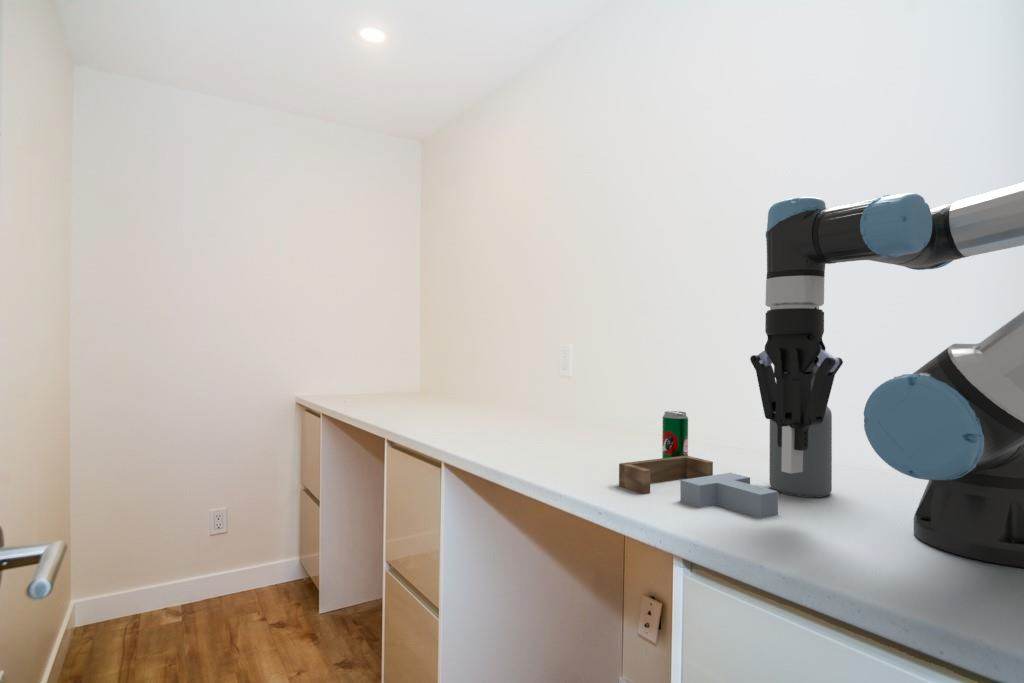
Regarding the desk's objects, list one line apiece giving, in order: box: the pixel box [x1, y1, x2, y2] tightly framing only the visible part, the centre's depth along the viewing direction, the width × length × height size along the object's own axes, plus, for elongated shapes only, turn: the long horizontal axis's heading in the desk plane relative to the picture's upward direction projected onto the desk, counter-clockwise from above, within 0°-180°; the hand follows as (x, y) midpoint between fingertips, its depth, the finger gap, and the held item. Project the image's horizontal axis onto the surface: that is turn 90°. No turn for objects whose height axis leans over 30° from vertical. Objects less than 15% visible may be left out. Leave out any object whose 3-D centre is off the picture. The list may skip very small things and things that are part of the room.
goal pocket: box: [618, 455, 714, 495], centre depth 100 cm, size 6×17×4 cm, turn 118°
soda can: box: [661, 410, 689, 458], centre depth 111 cm, size 5×5×12 cm
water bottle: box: [769, 361, 833, 498], centre depth 96 cm, size 10×10×28 cm
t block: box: [679, 472, 779, 519], centre depth 86 cm, size 12×12×4 cm
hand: (792, 471), depth 78 cm, fingers closed
